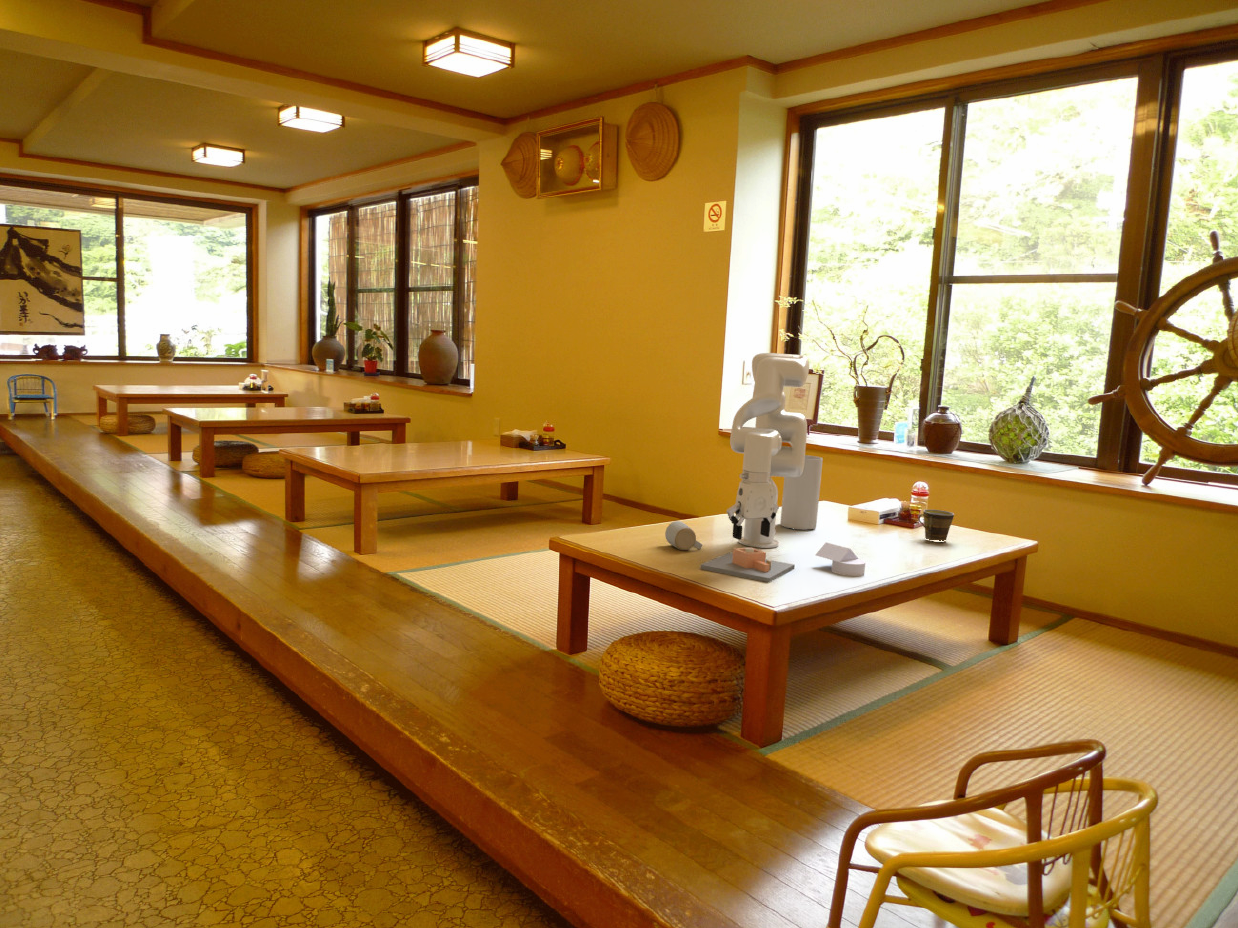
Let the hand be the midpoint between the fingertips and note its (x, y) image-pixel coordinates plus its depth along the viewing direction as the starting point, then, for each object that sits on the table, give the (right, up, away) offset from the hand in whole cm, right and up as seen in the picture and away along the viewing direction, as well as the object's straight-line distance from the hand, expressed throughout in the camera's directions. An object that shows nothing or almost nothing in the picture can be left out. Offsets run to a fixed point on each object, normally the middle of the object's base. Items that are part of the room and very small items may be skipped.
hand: (750, 537), depth 244 cm
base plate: (-1, -9, 0) cm, 9 cm away
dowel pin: (+4, -9, -4) cm, 10 cm away
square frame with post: (+1, -8, -2) cm, 8 cm away
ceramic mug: (-17, -5, +21) cm, 28 cm away
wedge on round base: (+27, -10, +6) cm, 29 cm away
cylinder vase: (+27, -2, +66) cm, 71 cm away
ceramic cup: (+71, -6, +57) cm, 91 cm away
